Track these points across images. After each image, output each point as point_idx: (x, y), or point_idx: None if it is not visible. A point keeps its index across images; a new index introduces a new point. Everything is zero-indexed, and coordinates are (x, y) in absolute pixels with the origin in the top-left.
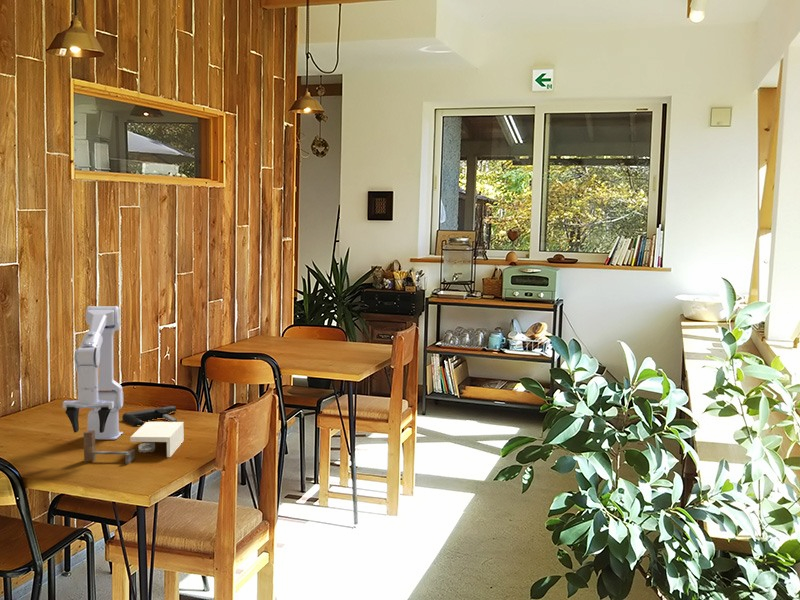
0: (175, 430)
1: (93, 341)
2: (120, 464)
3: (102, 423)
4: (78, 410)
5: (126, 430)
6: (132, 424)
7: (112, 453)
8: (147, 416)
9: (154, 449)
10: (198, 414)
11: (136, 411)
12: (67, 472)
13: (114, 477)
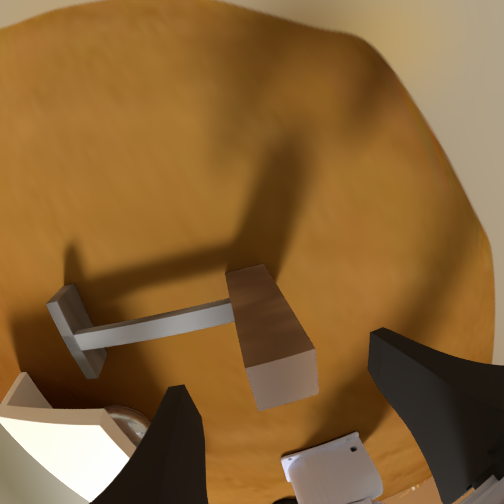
0: (47, 469)
1: None
2: (88, 274)
3: (139, 444)
4: (440, 480)
5: (290, 487)
6: (292, 500)
7: (135, 321)
8: None
9: None
10: None
11: None
12: (254, 101)
13: (28, 115)
